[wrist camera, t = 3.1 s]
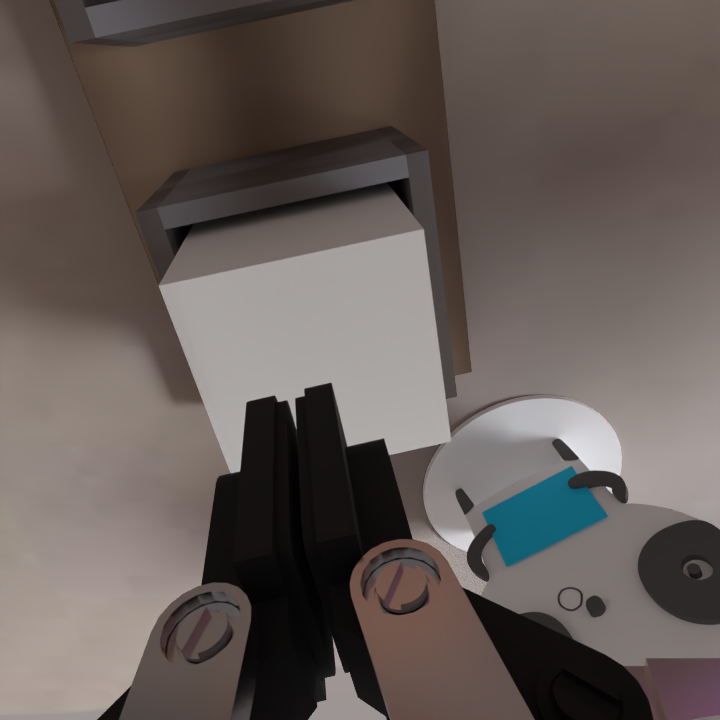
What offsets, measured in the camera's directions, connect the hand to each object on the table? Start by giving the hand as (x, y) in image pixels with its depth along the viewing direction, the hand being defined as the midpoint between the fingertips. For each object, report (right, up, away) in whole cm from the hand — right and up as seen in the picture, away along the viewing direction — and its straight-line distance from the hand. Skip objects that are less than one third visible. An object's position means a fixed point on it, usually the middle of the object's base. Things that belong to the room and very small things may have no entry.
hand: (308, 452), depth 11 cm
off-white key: (-1, +4, +8) cm, 9 cm away
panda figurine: (+10, -5, +21) cm, 24 cm away
